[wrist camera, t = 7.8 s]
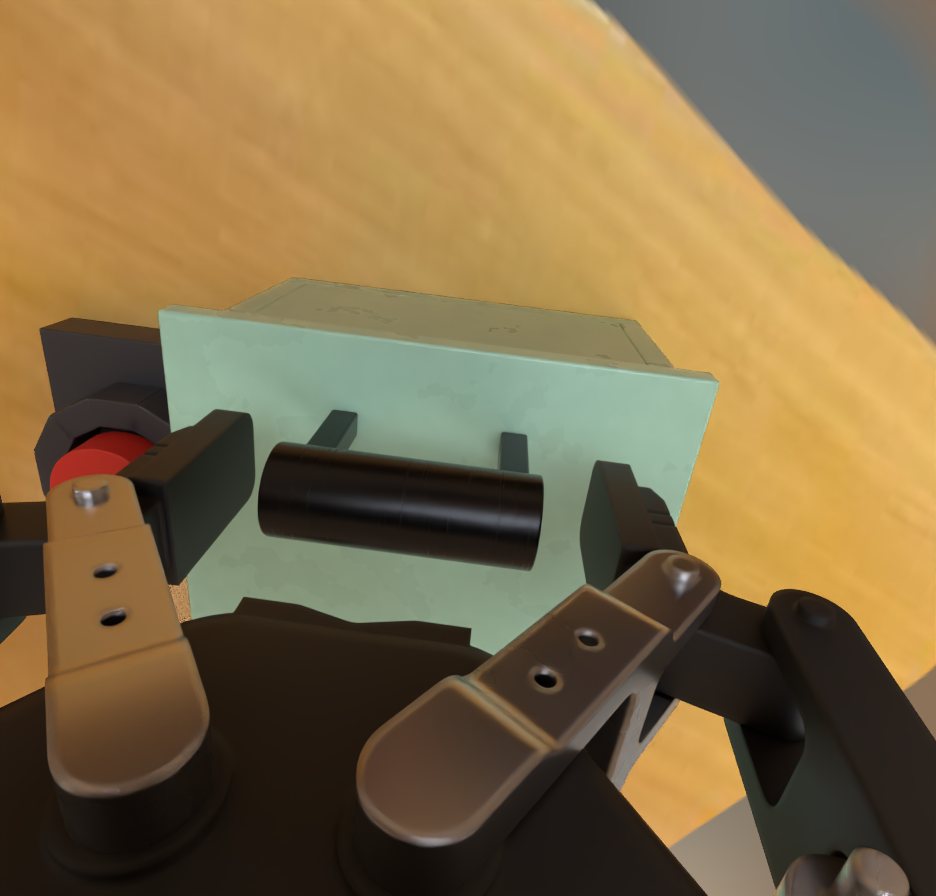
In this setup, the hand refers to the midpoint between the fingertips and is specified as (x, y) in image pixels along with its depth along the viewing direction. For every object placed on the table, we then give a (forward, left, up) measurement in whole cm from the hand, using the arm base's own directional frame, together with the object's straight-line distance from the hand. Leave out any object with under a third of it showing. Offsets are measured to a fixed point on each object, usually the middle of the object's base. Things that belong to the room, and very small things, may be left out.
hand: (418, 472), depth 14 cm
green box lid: (+6, 0, -3) cm, 7 cm away
